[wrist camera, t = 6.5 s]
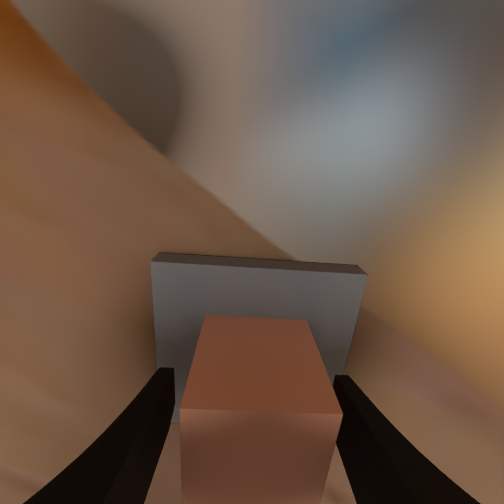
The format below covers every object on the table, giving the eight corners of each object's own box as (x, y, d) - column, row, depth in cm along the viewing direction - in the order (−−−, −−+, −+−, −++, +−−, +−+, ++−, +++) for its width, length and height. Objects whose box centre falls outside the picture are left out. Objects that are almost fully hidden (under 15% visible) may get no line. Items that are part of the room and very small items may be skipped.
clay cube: (204, 392, 14) (182, 510, 9) (205, 314, 12) (179, 408, 8) (293, 395, 14) (317, 512, 9) (306, 319, 12) (343, 414, 8)
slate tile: (166, 403, 16) (160, 422, 15) (159, 252, 12) (150, 261, 11) (324, 409, 16) (330, 427, 15) (357, 265, 13) (367, 274, 12)
